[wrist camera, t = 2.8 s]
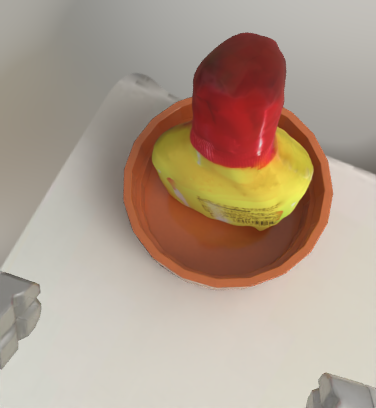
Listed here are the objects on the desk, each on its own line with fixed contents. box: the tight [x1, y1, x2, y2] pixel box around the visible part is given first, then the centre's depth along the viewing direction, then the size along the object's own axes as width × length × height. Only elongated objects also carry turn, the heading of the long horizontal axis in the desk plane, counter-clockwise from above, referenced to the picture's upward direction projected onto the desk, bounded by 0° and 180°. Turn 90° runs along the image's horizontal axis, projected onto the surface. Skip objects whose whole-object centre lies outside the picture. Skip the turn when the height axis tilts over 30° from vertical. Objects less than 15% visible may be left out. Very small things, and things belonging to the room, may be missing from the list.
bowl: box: [123, 97, 333, 290], centre depth 31 cm, size 17×17×6 cm
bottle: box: [152, 33, 314, 231], centre depth 23 cm, size 12×6×20 cm, turn 73°
